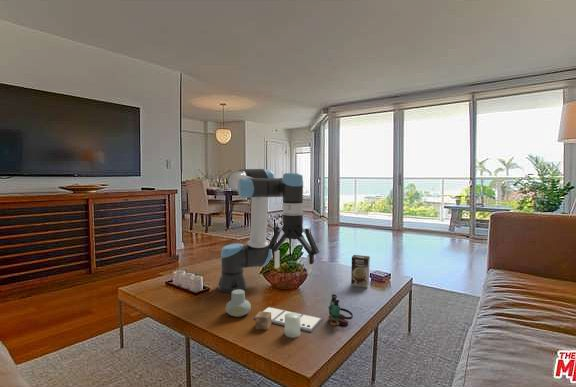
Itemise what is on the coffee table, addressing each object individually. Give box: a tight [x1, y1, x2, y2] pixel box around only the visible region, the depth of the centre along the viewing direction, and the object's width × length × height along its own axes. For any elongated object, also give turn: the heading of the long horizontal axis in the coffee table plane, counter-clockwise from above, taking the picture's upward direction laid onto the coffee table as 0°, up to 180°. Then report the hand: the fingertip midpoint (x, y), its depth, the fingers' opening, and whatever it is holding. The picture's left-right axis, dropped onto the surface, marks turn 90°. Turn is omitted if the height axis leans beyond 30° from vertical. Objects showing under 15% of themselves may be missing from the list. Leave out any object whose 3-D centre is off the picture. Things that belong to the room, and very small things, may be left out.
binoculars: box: [327, 293, 354, 327], centre depth 133 cm, size 9×11×10 cm
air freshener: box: [225, 289, 252, 318], centre depth 140 cm, size 11×8×10 cm
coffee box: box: [350, 254, 371, 289], centre depth 177 cm, size 9×6×16 cm
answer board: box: [253, 306, 323, 333], centre depth 135 cm, size 26×12×1 cm, turn 63°
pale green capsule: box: [284, 312, 301, 339], centre depth 123 cm, size 6×6×7 cm
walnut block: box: [255, 310, 272, 331], centre depth 129 cm, size 5×5×5 cm
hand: (292, 270), depth 122 cm, fingers open, 13 cm apart
